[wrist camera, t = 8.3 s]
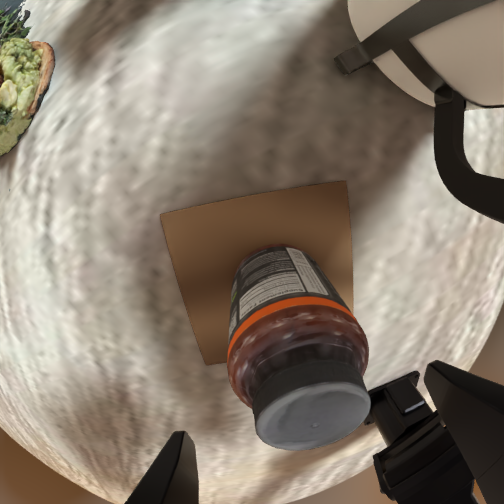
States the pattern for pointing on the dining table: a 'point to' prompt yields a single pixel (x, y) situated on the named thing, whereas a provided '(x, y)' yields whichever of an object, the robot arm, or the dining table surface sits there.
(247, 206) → the walnut trivet
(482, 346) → the dining table surface
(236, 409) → the dining table surface
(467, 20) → the coffee press
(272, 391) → the supplement bottle
